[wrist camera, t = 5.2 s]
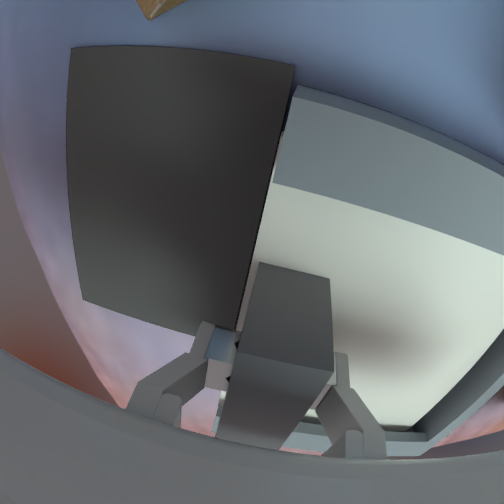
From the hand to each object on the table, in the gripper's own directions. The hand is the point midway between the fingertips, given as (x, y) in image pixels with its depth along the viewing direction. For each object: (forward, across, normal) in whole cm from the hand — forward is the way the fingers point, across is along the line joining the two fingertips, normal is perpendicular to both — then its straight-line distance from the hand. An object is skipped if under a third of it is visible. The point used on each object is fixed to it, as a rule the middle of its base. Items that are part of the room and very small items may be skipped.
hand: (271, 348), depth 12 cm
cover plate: (+2, -4, 0) cm, 5 cm away
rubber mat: (+8, +8, 0) cm, 11 cm away
